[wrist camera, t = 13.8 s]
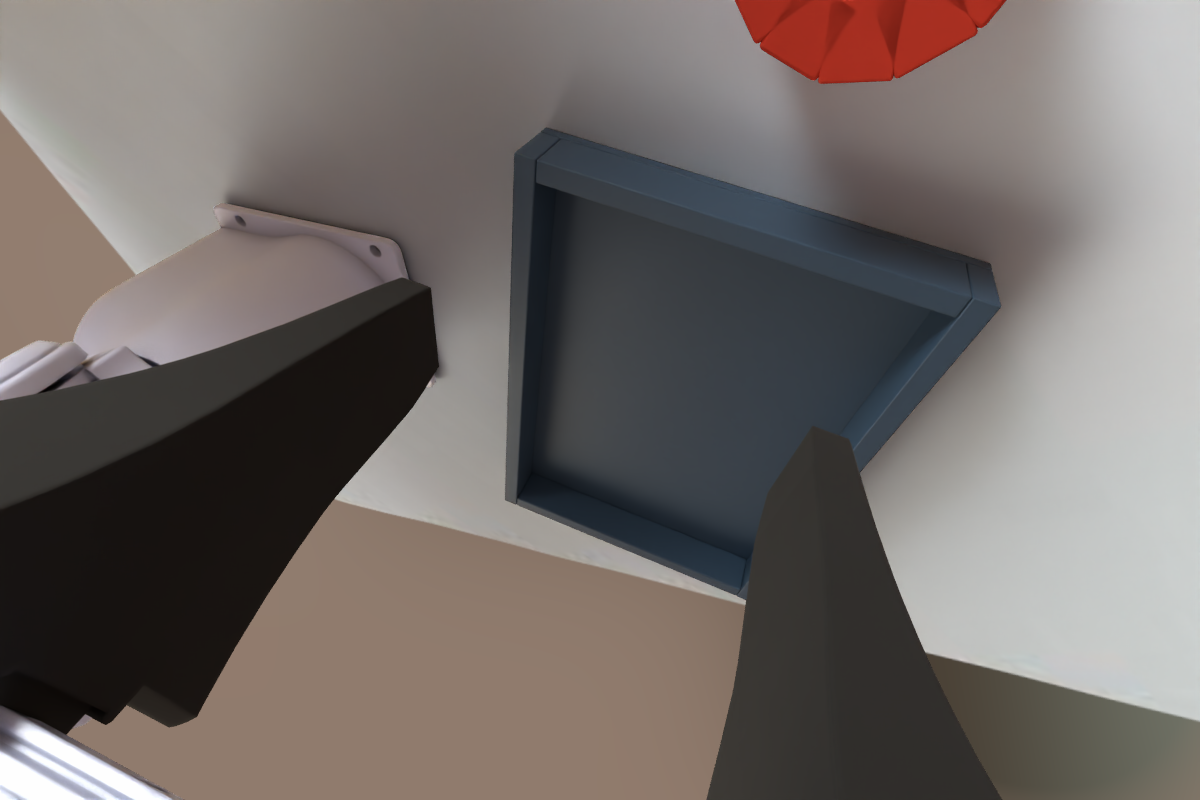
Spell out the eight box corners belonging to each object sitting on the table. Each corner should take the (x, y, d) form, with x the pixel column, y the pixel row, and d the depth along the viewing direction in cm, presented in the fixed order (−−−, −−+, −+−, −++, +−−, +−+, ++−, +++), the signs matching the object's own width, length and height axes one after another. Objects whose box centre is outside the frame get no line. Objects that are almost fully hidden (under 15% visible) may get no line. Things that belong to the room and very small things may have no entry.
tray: (523, 469, 30) (504, 500, 29) (545, 126, 17) (513, 152, 16) (757, 563, 29) (750, 601, 27) (991, 263, 15) (1002, 306, 14)
